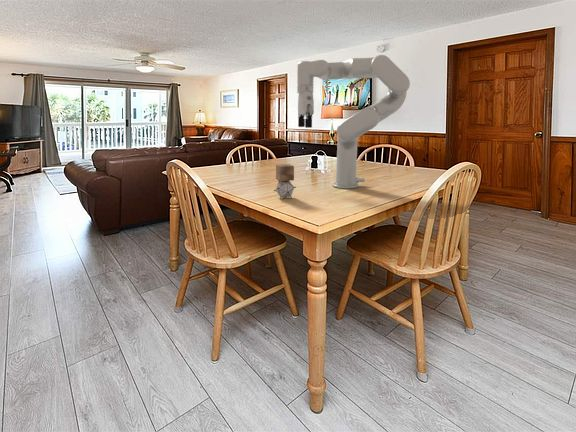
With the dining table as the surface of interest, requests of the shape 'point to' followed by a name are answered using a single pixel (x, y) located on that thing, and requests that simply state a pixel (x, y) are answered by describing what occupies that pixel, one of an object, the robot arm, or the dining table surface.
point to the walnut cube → (285, 172)
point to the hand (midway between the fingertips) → (304, 127)
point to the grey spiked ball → (284, 189)
